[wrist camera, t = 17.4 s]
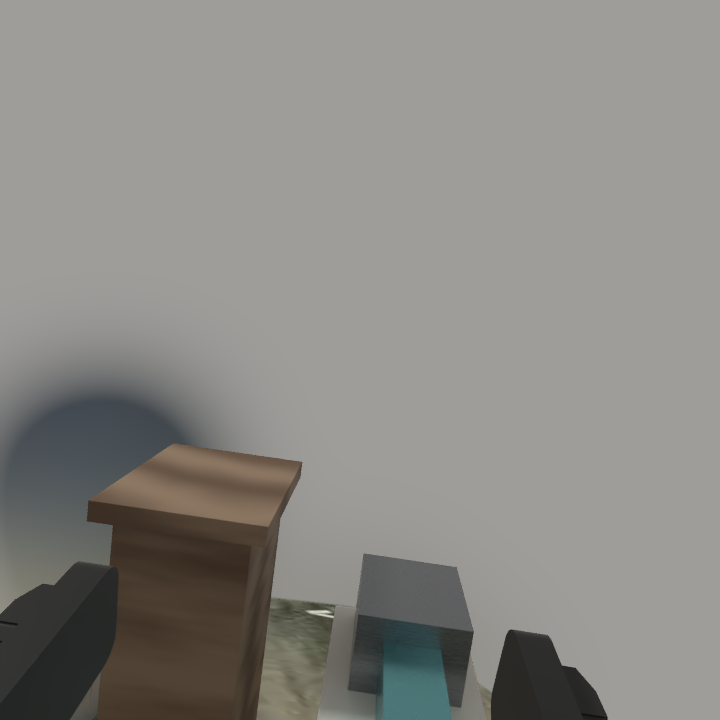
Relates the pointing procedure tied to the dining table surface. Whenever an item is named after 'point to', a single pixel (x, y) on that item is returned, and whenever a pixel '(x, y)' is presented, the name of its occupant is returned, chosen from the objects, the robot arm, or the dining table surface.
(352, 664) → the bar
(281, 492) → the tall walnut stand
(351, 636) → the low cream stand
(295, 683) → the dining table surface
